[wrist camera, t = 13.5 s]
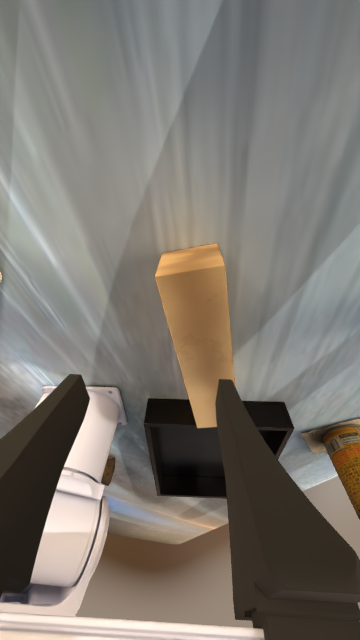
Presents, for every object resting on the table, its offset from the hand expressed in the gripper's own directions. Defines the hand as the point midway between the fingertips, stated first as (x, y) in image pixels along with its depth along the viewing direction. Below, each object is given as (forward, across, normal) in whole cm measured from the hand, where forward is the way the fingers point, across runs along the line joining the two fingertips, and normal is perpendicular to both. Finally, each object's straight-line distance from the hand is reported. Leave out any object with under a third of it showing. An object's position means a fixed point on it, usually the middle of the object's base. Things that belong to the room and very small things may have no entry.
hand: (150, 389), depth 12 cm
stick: (+10, -4, +4) cm, 11 cm away
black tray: (+10, -6, +26) cm, 29 cm away
